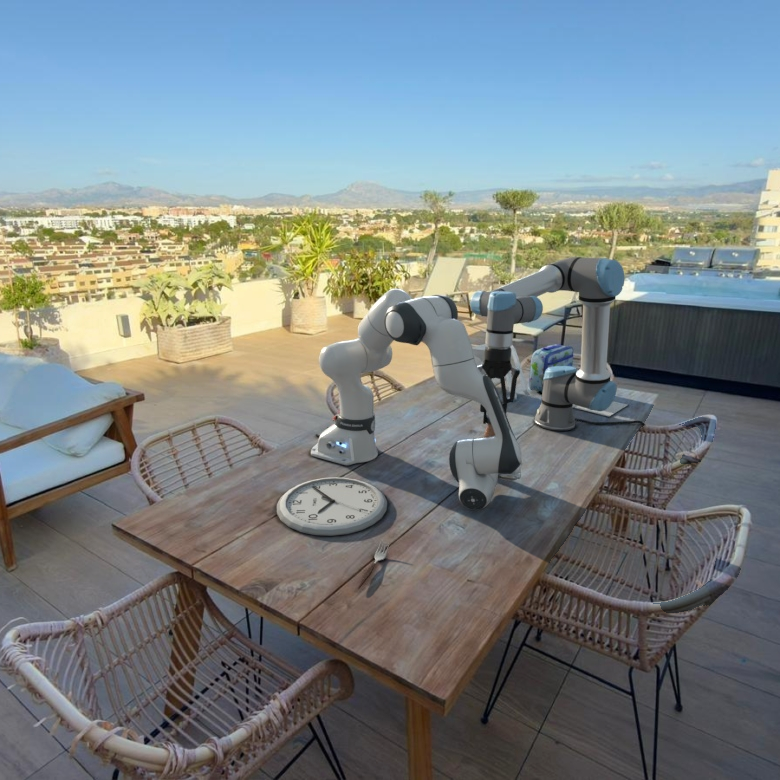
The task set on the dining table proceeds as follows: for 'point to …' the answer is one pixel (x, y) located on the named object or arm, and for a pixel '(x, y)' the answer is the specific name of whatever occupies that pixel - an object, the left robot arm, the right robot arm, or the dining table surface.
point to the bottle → (489, 431)
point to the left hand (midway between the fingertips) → (489, 455)
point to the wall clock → (331, 506)
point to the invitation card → (609, 411)
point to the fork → (378, 557)
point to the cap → (488, 420)
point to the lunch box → (548, 363)
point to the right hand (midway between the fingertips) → (492, 422)
